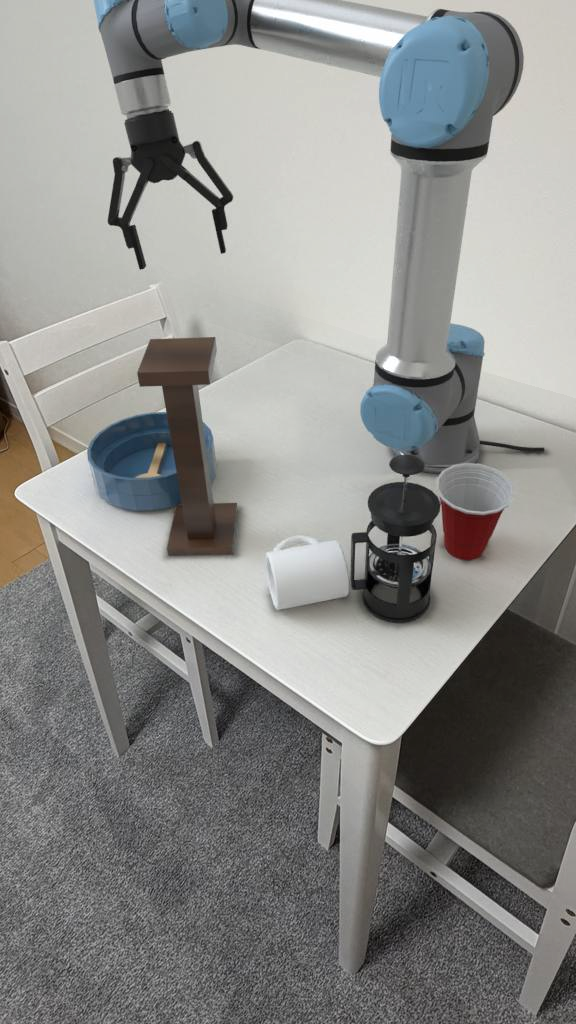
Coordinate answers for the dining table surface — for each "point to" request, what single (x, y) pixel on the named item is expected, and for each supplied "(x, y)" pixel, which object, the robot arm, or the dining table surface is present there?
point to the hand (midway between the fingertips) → (183, 260)
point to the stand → (189, 444)
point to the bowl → (139, 463)
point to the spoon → (156, 461)
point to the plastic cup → (471, 506)
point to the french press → (398, 544)
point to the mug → (306, 572)
